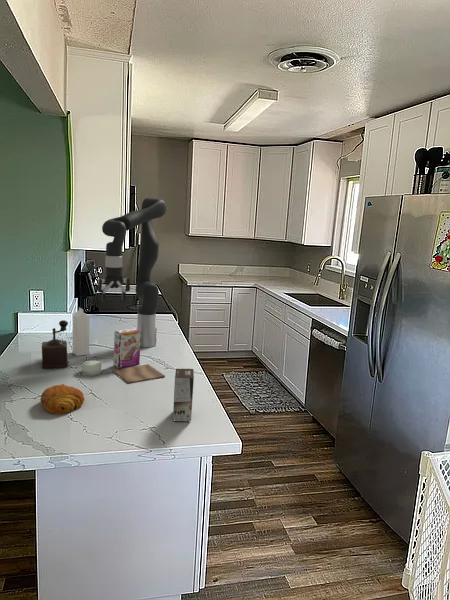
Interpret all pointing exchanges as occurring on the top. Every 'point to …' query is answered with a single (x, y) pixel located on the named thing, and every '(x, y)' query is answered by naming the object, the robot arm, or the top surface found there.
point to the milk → (80, 333)
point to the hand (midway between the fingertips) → (113, 300)
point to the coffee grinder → (55, 351)
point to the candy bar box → (127, 347)
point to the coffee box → (183, 394)
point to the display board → (138, 373)
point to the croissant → (61, 399)
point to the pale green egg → (91, 368)
